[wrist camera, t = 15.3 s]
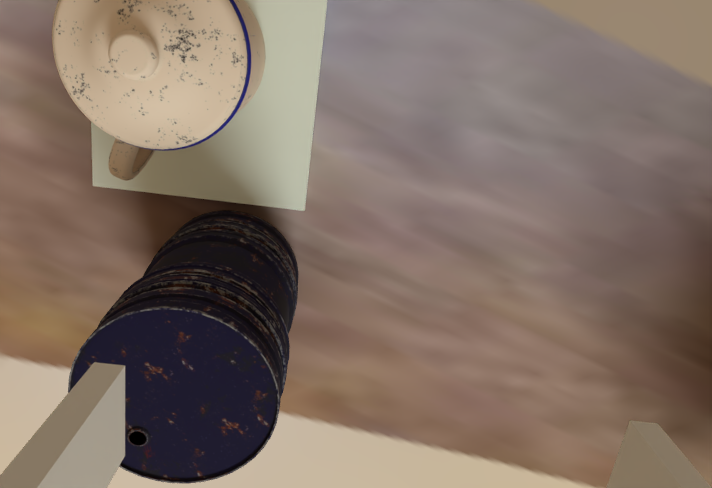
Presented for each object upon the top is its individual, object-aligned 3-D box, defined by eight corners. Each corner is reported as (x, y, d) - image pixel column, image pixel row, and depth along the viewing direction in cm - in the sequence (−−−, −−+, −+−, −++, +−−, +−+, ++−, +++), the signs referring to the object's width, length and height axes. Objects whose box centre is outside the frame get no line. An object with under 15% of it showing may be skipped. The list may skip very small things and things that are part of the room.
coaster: (328, -13, 34) (328, -14, 33) (304, 208, 38) (304, 210, 38) (91, -48, 32) (86, -50, 32) (96, 183, 37) (92, 186, 37)
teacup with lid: (152, -62, 32) (56, -118, 21) (295, 18, 34) (276, 6, 23) (83, 125, 35) (-30, 162, 24) (216, 189, 37) (166, 251, 26)
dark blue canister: (222, 179, 37) (156, 260, 23) (328, 271, 40) (326, 395, 26) (132, 278, 40) (21, 406, 26) (238, 359, 42) (191, 517, 28)
